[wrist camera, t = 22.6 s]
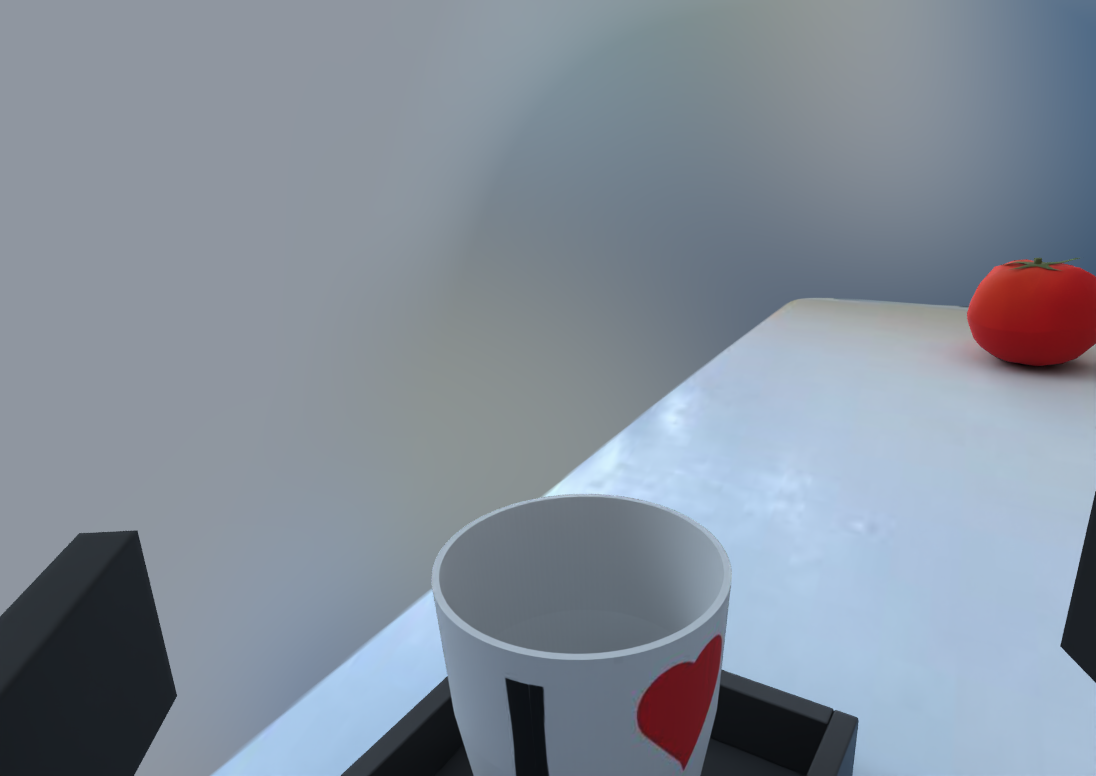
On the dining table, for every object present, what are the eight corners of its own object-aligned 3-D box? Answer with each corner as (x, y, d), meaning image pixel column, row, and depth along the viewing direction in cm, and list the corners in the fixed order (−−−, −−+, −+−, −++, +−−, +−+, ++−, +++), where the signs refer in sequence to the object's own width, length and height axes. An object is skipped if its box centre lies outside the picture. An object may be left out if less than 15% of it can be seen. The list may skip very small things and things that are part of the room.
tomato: (1121, 364, 66) (1143, 260, 63) (1040, 388, 61) (1060, 278, 58) (1012, 335, 74) (1027, 242, 71) (933, 356, 69) (946, 257, 66)
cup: (474, 993, 22) (441, 684, 18) (450, 761, 29) (424, 510, 26) (764, 928, 23) (785, 629, 19) (669, 722, 30) (673, 479, 27)
